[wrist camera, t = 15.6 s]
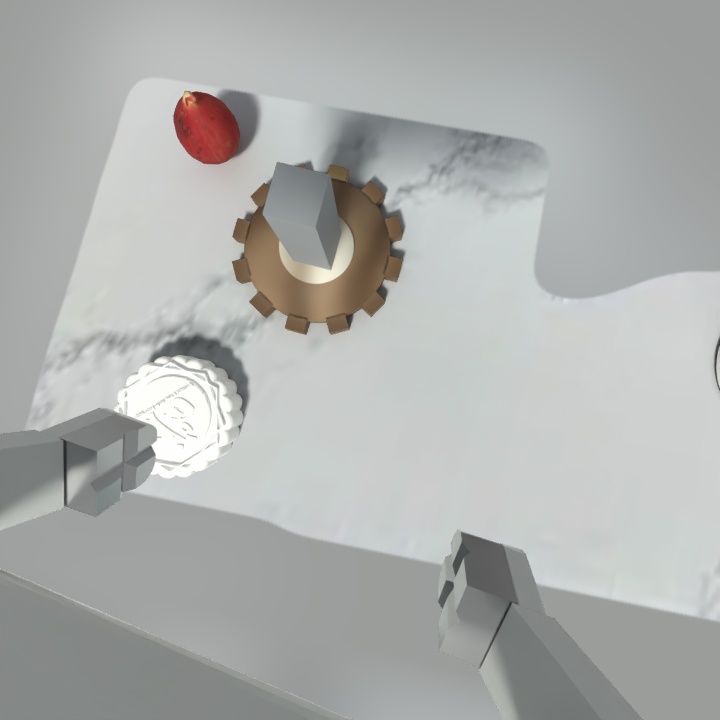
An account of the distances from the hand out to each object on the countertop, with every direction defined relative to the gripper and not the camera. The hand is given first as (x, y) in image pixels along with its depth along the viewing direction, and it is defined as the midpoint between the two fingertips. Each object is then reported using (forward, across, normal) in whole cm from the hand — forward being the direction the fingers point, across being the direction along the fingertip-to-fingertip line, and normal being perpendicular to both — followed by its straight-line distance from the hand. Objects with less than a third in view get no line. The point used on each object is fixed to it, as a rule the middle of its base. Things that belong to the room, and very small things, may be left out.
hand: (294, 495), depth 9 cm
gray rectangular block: (+28, +10, -6) cm, 30 cm away
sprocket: (+30, +10, -5) cm, 32 cm away
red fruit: (+31, +24, -13) cm, 41 cm away
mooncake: (+23, +19, +14) cm, 33 cm away
